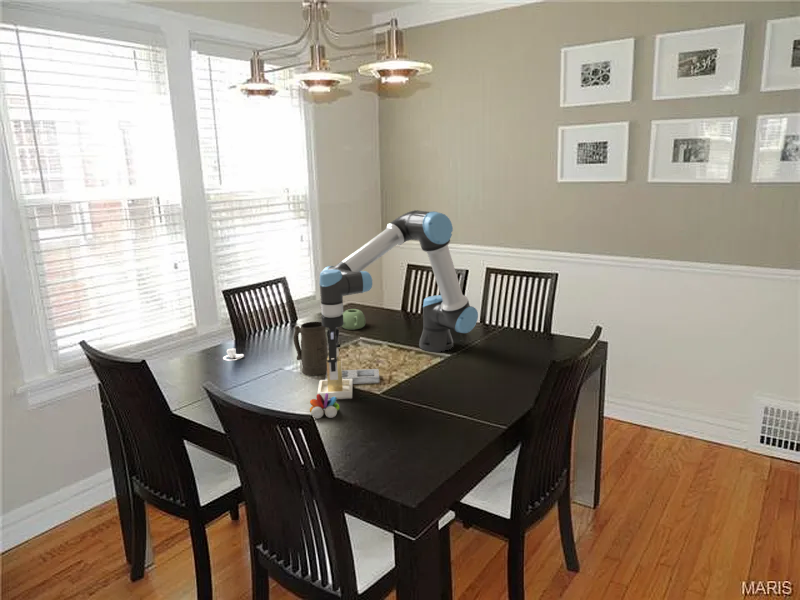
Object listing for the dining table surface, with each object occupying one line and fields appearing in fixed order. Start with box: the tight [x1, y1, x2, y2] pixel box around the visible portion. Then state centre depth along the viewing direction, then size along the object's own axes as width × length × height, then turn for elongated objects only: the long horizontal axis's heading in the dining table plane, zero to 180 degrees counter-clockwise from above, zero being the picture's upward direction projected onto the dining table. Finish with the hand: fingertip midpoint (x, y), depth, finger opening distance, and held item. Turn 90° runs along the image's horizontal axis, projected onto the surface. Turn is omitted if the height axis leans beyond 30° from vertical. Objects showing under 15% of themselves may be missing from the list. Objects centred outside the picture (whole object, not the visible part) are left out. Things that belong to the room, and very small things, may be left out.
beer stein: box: [292, 321, 329, 376], centre depth 213 cm, size 15×10×20 cm
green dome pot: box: [341, 308, 366, 331], centre depth 270 cm, size 16×13×9 cm
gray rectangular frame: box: [324, 368, 380, 385], centre depth 205 cm, size 20×8×2 cm, turn 94°
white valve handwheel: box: [222, 347, 245, 362], centre depth 230 cm, size 9×8×4 cm
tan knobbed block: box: [327, 356, 343, 392], centre depth 192 cm, size 5×5×12 cm
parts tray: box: [316, 379, 354, 400], centre depth 194 cm, size 12×12×2 cm
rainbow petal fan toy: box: [309, 393, 340, 419], centre depth 176 cm, size 8×10×7 cm
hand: (334, 372), depth 192 cm, fingers open, 13 cm apart
